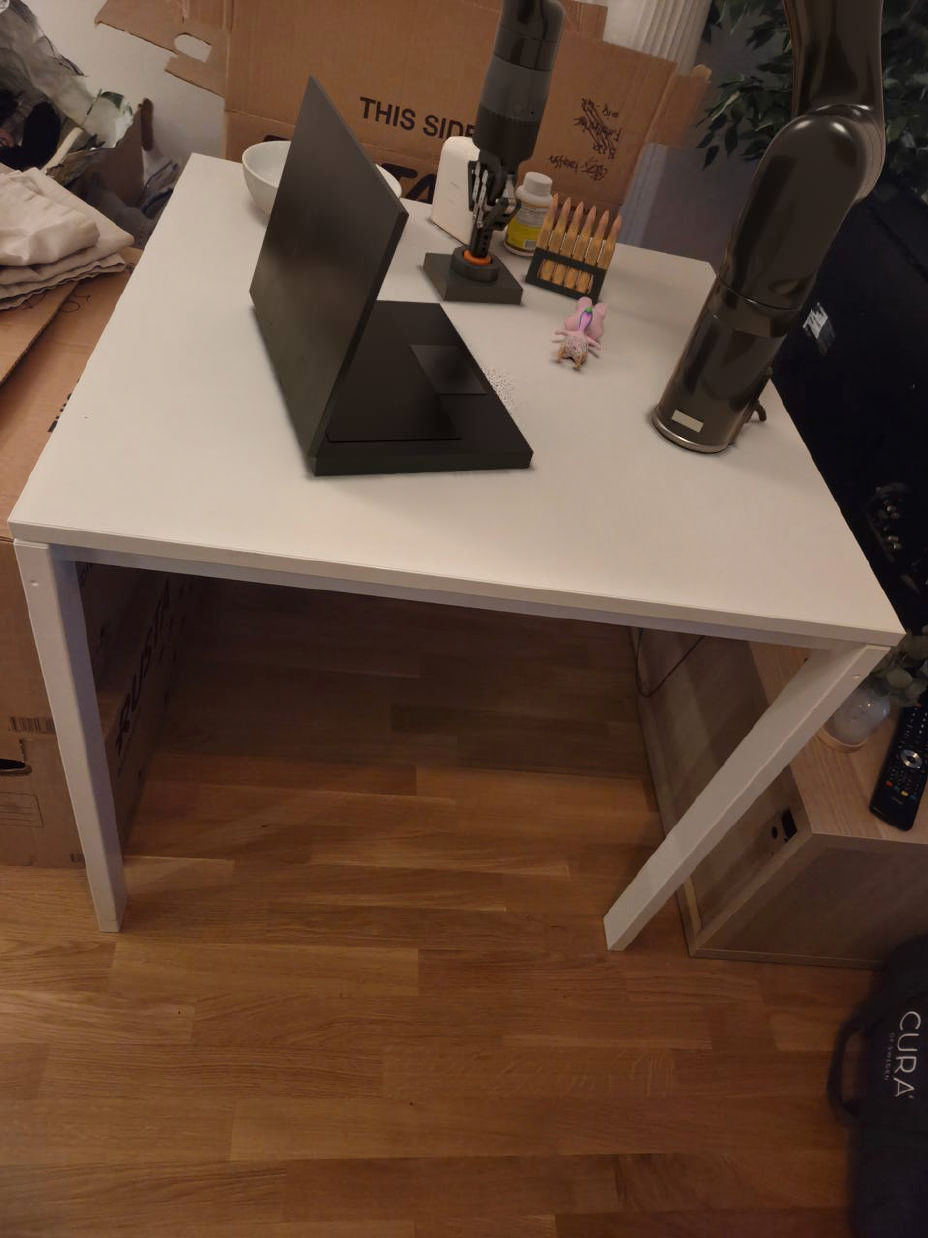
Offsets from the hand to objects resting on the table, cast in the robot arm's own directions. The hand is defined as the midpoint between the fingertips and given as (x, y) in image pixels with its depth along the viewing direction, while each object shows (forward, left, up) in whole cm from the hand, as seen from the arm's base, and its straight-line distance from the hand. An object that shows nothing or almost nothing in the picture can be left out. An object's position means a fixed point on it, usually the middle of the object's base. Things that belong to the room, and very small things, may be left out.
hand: (476, 255), depth 103 cm
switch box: (0, 0, -4) cm, 4 cm away
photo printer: (-4, -17, -4) cm, 18 cm away
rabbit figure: (-10, +14, -4) cm, 18 cm away
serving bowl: (+17, -16, -4) cm, 24 cm away
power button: (0, 0, -2) cm, 2 cm away
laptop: (+19, +24, -4) cm, 31 cm away
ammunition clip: (-14, 0, -4) cm, 15 cm away
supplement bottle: (-13, -13, -4) cm, 19 cm away
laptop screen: (+27, +24, +8) cm, 37 cm away
